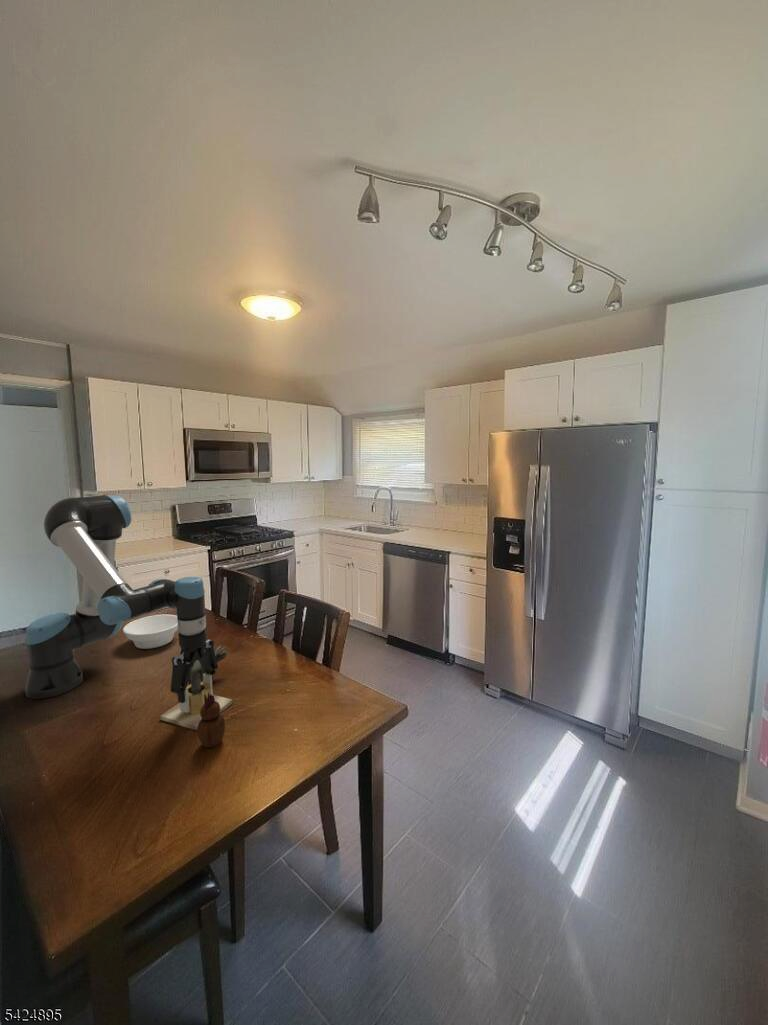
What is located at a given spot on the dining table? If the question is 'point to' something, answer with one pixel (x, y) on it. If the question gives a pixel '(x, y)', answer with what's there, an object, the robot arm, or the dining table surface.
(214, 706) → the wooden figurine
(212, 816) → the dining table surface
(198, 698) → the sleeve
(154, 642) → the bowl
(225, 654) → the dinosaur figurine
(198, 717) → the post board
